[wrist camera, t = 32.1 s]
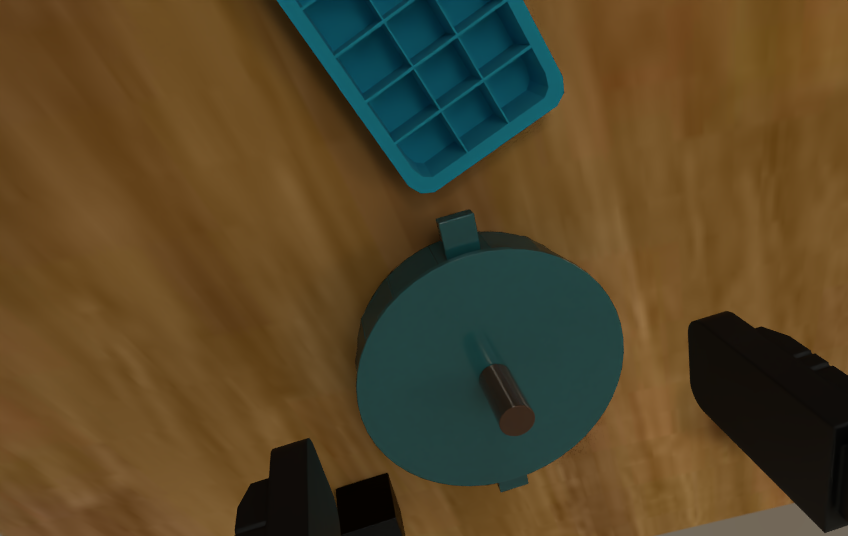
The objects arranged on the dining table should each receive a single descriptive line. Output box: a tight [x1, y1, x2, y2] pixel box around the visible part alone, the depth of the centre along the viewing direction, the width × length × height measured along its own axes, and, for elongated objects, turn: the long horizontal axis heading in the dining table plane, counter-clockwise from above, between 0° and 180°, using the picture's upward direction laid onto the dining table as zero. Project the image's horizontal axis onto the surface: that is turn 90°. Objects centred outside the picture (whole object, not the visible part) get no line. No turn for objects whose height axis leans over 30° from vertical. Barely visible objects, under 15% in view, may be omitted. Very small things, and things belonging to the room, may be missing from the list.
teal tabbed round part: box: [355, 209, 563, 492], centre depth 45 cm, size 19×24×4 cm
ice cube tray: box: [277, 0, 564, 193], centre depth 35 cm, size 12×20×3 cm, turn 34°
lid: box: [356, 247, 624, 486], centre depth 41 cm, size 20×20×6 cm
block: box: [336, 473, 405, 536], centre depth 49 cm, size 4×4×5 cm
